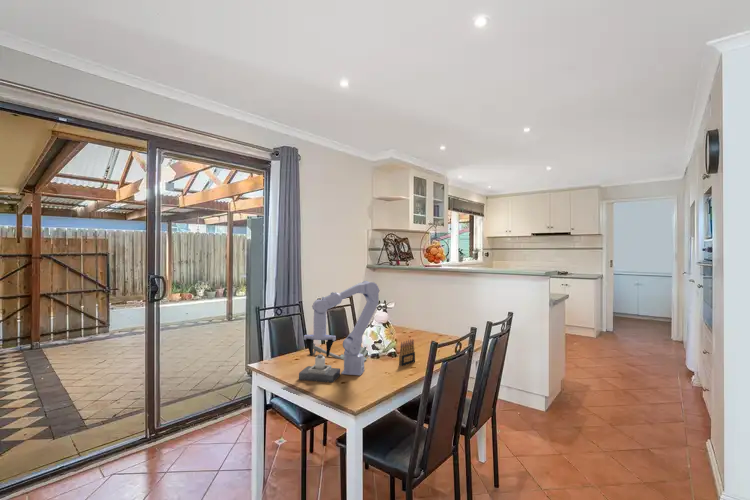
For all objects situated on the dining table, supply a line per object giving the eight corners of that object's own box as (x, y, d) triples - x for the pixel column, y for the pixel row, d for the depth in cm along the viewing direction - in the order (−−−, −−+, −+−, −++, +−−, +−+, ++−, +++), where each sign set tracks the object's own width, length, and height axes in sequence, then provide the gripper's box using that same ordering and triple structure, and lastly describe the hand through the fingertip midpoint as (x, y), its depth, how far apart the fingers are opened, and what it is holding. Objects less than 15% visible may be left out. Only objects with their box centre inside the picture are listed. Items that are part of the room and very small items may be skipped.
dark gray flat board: (340, 375, 166) (340, 365, 166) (333, 382, 156) (333, 372, 156) (307, 372, 169) (307, 362, 169) (298, 379, 159) (298, 369, 159)
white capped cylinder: (325, 368, 165) (325, 353, 165) (324, 372, 161) (324, 356, 161) (315, 369, 165) (315, 353, 165) (314, 372, 160) (314, 356, 160)
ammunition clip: (412, 360, 188) (412, 338, 188) (415, 361, 187) (415, 338, 187) (399, 365, 181) (399, 341, 181) (401, 366, 179) (401, 342, 180)
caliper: (310, 354, 201) (310, 343, 201) (311, 353, 202) (311, 342, 202) (340, 359, 191) (340, 347, 191) (341, 359, 192) (341, 347, 192)
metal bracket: (348, 342, 203) (373, 344, 198) (349, 351, 205) (374, 354, 200) (338, 355, 190) (364, 358, 185) (339, 365, 192) (365, 368, 187)
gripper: (337, 324, 167) (337, 354, 167) (307, 323, 169) (307, 352, 169) (333, 327, 160) (333, 358, 160) (302, 326, 162) (302, 356, 162)
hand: (319, 355), depth 164 cm, fingers open, 7 cm apart
